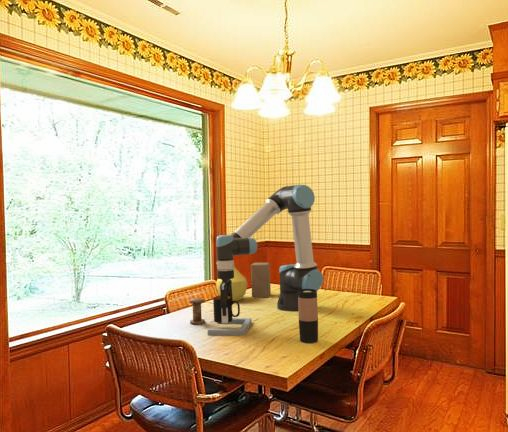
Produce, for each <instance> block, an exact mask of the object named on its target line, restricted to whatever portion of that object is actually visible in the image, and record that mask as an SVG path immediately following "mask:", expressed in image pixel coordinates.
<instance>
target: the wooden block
mask: <svg viewBox="0 0 508 432" xmlns="http://www.w3.org/2000/svg"><path fill="white" fill-rule="evenodd" d="M270 266H271V263H270V262H252V264H250V274H251V276H250V277H251V280H250V281H251V298H253V297H255V298H256V299H257V298H260V299H264V298H266V299H268V298H269V297H270V296H271V295H272V291H271V288H272V287H271V267H270ZM255 298H254V299H255Z"/></svg>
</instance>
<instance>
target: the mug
mask: <svg viewBox="0 0 508 432" xmlns="http://www.w3.org/2000/svg"><path fill="white" fill-rule="evenodd" d="M212 301H213V322H215V323H217V324H223V323H222V312H221V308H219V307H220V295H217V296H214V297H213V298H212ZM235 303H236V306H237V313H236V315H235V314H234V313H233V305H234V304H235ZM227 308H228V322H231V321H232V318H239V315H240V314H241V308H240V304H239V301H232V297H231V296H228V300H227Z"/></svg>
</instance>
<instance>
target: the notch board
mask: <svg viewBox="0 0 508 432" xmlns="http://www.w3.org/2000/svg"><path fill="white" fill-rule="evenodd" d="M252 323H253V321H252V318H251V317H250V318H249V317H241V318H240V317H232V321H231V322H228V323H227V325H228V324H229V325H230V324H238V325H240V324H242V325H241V326H240V328H208V329H207V336H245V335H246V333H247V332H248V331H249V328H250V327H251V324H252Z"/></svg>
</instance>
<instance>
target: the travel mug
mask: <svg viewBox="0 0 508 432" xmlns="http://www.w3.org/2000/svg"><path fill="white" fill-rule="evenodd" d="M318 309H319V308H318V291H317V290H315V289H301V290H298V310H297V311H298V329H299V331H298V332H299V341H300V342H301V343H303V344H314V343H317V342H318V341H319V310H318Z"/></svg>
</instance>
